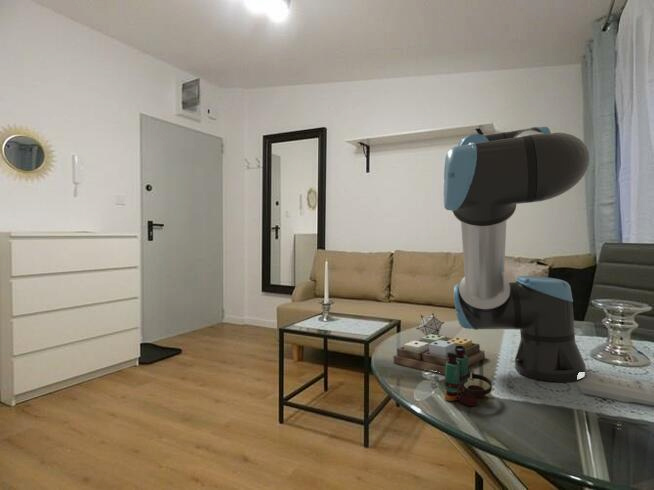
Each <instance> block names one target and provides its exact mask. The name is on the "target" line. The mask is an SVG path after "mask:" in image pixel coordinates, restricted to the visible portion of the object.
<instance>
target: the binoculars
mask: <svg viewBox="0 0 654 490" xmlns="http://www.w3.org/2000/svg"><path fill="white" fill-rule="evenodd" d="M455 351H456V354H454V353H449V352H447V357H448V361H447V362H446V366H445V370H446V371H445V375H444V376H445V377H444V380H443V382H444V383H443V384H444V390H445V392H444V400H445V401H449V402H450V401H451V402H452V401H457V400H459V401H460V402H461V403H462V404H464V405H467V406H471V407H477V406H478V404H479V400H482V399H484V398H485V396H486V395H488V394H490V393H491V391H492V387H493V386H492V384H493V383H492V381H491V380H490V379H489V378H488V377H487V376H484V375H481V374H479V373H477V374H476V373H474V371H473V370H471V371H469V367H468V357H467V356H465V355H464V352H465V347H464V346H461V345H458V346H456V347H455ZM470 377H471V378H470ZM474 379H475V380H481V381H483V382H485V383H487V384H488V385H489V387H488V388H486V389H485V388H483V387H482V386H480V385H475V384H472V385H468V386H465V384H466V383H468V382H469V380H471V381H474ZM459 394H460V395H459Z"/></svg>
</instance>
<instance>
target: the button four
mask: <svg viewBox="0 0 654 490" xmlns="http://www.w3.org/2000/svg"><path fill="white" fill-rule="evenodd" d="M450 339H451V340H449V342H455V343H456V346H458V345H461V346H464V347H465V349H467V348H469V347H471V346H472V343H473V340H472V339H469V338H461V337H454V338H450Z"/></svg>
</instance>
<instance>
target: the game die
mask: <svg viewBox="0 0 654 490" xmlns="http://www.w3.org/2000/svg"><path fill="white" fill-rule="evenodd" d="M420 317H421V319H420V321H419V325H418V327H416V330H419V331H421V333H422V334H424V335H425V336H427V335H430V334H433V335H440V332H441V328H442V326H443V324H445V322H444V321H443V322H441V321H440V319H438V318H437V317H436V316H435V315H434V313H432V314H431V315H422V314H420Z"/></svg>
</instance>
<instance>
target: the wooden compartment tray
mask: <svg viewBox="0 0 654 490" xmlns="http://www.w3.org/2000/svg"><path fill="white" fill-rule="evenodd" d="M451 339H452V338H450V339H449V338H445V340H446V341H449V340H451ZM418 341H420V342H422V341H421V339H419V340H418ZM480 346H481V345H480V343H475V342H472V346H471V347H469V348H467V349H465V352H464V355H465V356H467V357H468V368H469V367H471V366H472V365H474V364H476V363H479V362H481V361H482V360H484V359H485V358H486V356H485V355H486V354H485V350H481V348H480ZM396 351H397V354H395V355H393V356H392V358H393V363H394V364H397V365H402V366H405V367H410V368H413V369H418V370H421V371H424V370H423V369H426V370H433V371H437V372H440V373H441V374H440V375H442V374H443V375H442V376H445V371H446V370H445V366H446V362H447V361H448V358H444V357H439V356H434V355H430V354H429V349H426V350H424V351H422V352H414V351H409V350H404V345H403V346H401V347H398V348H396ZM483 358H484V359H483ZM426 370H425V371H426Z"/></svg>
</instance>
